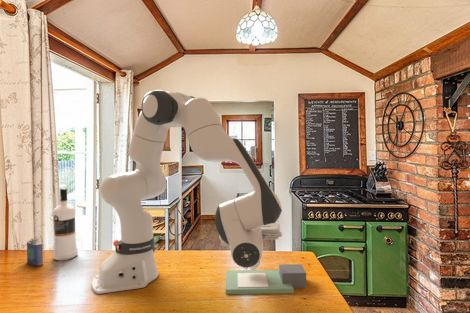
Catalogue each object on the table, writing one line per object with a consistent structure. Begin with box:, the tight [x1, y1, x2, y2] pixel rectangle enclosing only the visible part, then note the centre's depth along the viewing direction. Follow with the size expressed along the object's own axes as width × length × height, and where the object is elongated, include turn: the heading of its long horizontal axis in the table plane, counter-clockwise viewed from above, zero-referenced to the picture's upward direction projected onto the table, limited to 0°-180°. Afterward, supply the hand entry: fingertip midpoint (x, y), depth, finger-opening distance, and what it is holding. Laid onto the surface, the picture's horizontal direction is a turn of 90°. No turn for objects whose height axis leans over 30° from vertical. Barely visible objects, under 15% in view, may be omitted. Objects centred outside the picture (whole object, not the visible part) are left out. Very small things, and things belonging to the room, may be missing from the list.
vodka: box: [52, 188, 79, 261], centre depth 125 cm, size 9×9×30 cm
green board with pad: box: [225, 263, 307, 295], centre depth 100 cm, size 27×14×5 cm, turn 90°
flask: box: [26, 237, 44, 267], centre depth 119 cm, size 9×3×11 cm, turn 61°
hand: (249, 224), depth 103 cm, fingers closed on water bottle, 7 cm apart
